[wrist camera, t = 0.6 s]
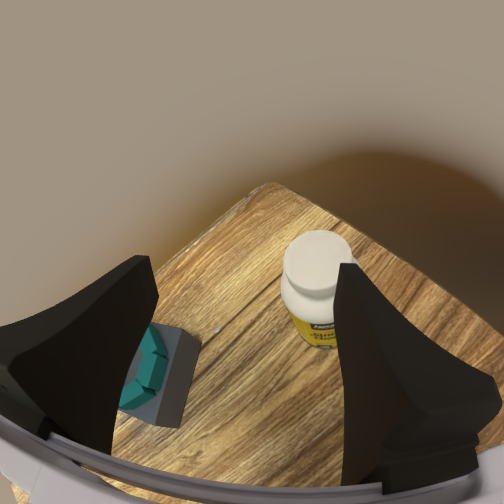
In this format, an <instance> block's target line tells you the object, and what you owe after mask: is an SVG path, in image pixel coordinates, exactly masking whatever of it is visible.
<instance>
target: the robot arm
mask: <svg viewBox="0 0 504 504" xmlns="http://www.w3.org/2000/svg"><path fill="white" fill-rule="evenodd" d="M158 299H159V294H158V290H157V286H156V283H155V279H154V275H153V271H152V267H151V263H150V259H149V256H142V255H135V256H133V257H131V258H129V259H128V260H126V261H124V262H123V263H121V264H120V265H118V266H117V267H115V268H114V269H113V270H111V271H109V272H108V273H107V274H105V275H104V276H102V277H101V278H99V279H98V280H96V281H95V282H93V283H92V284H90V285H88V286H87V287H85V288H84V289H82V290H81V291H79V292H78V293H76V294H74V295H73V296H71V297H69V298H68V299H66V300H64V301H62V302H60V303H58V304H57V305H55V306H53V307H51V308H49V309H46V310H44V311H42V312H40V313H38V314H35V315H33V316H31V317H28V318H26V319H23V320H20V321H17V322H15V323H12V324H8V325H5V326H1V327H0V473H2V474H3V475H4V476H5V477H6V478H8V479H9V480H10V481H11V482H13V483H14V484H15V485H16V486H18V487H19V488H20V489H22V490H23V491H24V492H26V493H27V494H28V495H30V496H29V498H28V500H29V502H30V504H160V503H156V502H153V501H149V500H146V499H142V498H139V497H136V496H133V495H130V494H127V493H126V492H124V491H122V490H120V489H118V488H116V487H114V486H112V485H110V484H109V483H107V482H106V481H104V480H103V479H102V478H101V477H99V476H98V475H96V474H93V473H91V472H89V471H87V470H85V469H83V468H81V467H84V468H86V469H88V470H91V471H93V472H96V473H98V474H101V475H103V476H106V477H109V478H111V479H114V480H117V481H120V482H123V483H126V484H129V485H132V486H135V487H138V488H142V489H145V490H148V491H152V492H156V493H159V494H163V495H167V496H171V497H176V498H180V499H185V500H190V501H195V502H200V503H206V504H504V443H502V444H500V445H497V446H494V447H492V448H489V449H486V450H484V451H482V452H480V453H478V454H477V455H476V450H475V447H476V446H477V445H479V439H478V435H477V434H478V433H479V432H480V431H481V430H482V429H483V428H484V427H485V426H486V425H487V424H488V423H489V422H491V421H492V420H493V419H494V417H495V416H496V415H497V414H498V413H499V411H500V409H501V407H502V398H501V396H500V393H499V390H498V388H497V385H496V383H495V380H494V378H493V377H492V376H490V375H488V374H486V373H484V372H482V371H480V370H478V369H476V368H474V367H472V366H470V365H468V364H467V363H465V362H463V361H462V360H460V359H458V358H457V357H455V356H454V355H452V354H450V353H449V352H447V351H446V350H444V349H443V348H442V347H440V346H439V345H438V344H436V343H435V342H434V341H432V340H431V339H429V338H428V337H427V336H426V335H424V334H423V333H422V332H421V331H420V330H418V329H417V328H416V327H415V326H414V325H413V324H412V323H410V322H409V321H408V320H407V319H406V318H405V317H404V316H403V315H402V314H401V313H400V312H399V311H398V310H397V309H396V308H395V307H394V306H393V305H392V304H391V303H390V302H389V301H388V300H387V298H386V297H385V296H384V295H383V294H382V293H381V292H380V291H379V289H378V288H377V287H376V286H375V285H374V284H373V282H372V281H371V280H370V279H369V278H368V276H367V275H366V274H365V273H364V272H363V270H362V269H361V268H360V267H359V266H358V265H357V263H340V267H339V273H338V279H337V285H336V291H335V297H334V302H333V318H334V331H335V336H336V342H337V348H338V354H339V359H340V365H341V371H342V378H343V387H344V452H343V466H342V478H341V486H336V487H309V488H293V487H266V486H252V485H242V484H233V483H225V482H217V481H211V480H204V479H199V478H193V477H188V476H183V475H178V474H174V473H169V472H165V471H161V470H157V469H153V468H149V467H145V466H142V465H138V464H135V463H132V462H128V461H125V460H122V459H119V458H116V457H113V456H111V449H112V441H113V433H114V426H115V421H116V416H117V411H118V406H119V402H120V398H121V394H122V390H123V387H124V383H125V380H126V377H127V374H128V370H129V368H130V365H131V363H132V360H133V358H134V356H135V354H136V352H137V350H138V347H139V345H140V343H141V341H142V339H143V337H144V335H145V333H146V331H147V328H148V326H149V324H150V322H151V320H152V318H153V315H154V312H155V309H156V305H157V302H158ZM80 466H81V467H80Z"/></svg>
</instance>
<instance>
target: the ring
mask: <svg viewBox="0 0 504 504" xmlns="http://www.w3.org/2000/svg"><path fill="white" fill-rule="evenodd" d="M140 347H141V350H142V352H143V357H142V360H141V363H140V366H139V370H138V373H137V376H136V379H135V380H134V381H132V382H131V383H129V384H128V385H126V386H124V387H123V390H122V394H121V398H120V402H119V406H118V408H120V409H124V410H129V409H130V410H134V409H136V408H137V407H139V406H141V405H142V404H144V403H146V402H147V401H149V400H151V399H152V398H154V397H156V394H155V392H154V390H157V391H160V389H161V385H162V382H163V378H164V375H165V371H166V368H167V365H168V361H169V360H167V359H165V358H164V357H166V356H167V355H168V353H167V351H166V349H165V346H164V344H163V342H162V340H161V338H160V335H159V333H158V331H157V329H155V328H154V327H153V326H152V325H150V324H149V326H148V328H147V331H146V333H145V335H144V337H143V339H142V341H141V343H140Z"/></svg>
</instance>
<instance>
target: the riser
mask: <svg viewBox="0 0 504 504" xmlns="http://www.w3.org/2000/svg"><path fill="white" fill-rule="evenodd" d="M150 325H152V326H153V327H154V328H155V329H157V331H158V333H159V335H160V338H161V340H162V342H163V344H164V346H165V349H166V351H167V353H168V355H167V356H166V357H164V358H165V359H167V360H169V361H168V365H167V368H166V371H165V375H164V378H163V382H162V385H161V389H160V391H157V390H154V392H155V394H156V397H154V398H152V399H151V400H149V401H147V402H146V403H144V404H142V405H141V406H139V407H137V408H136V409H134V410H130V409H129V410H124V409H120V408H118V410H120V411H122V412H124V413H126V414H128V415H131V416H133V417H135V418H137V419H140V420H142V421H144V422H147V423H149V424H152V425H154V426H161V427H169V428H179V425H180V422H181V418H182V414H183V410H184V406H185V403H186V399H187V395H188V392H189V388H190V384H191V381H192V377H193V373H194V370H195V366H196V362H197V359H198V355H199V352H200V348H201V344H202V342H201V341H199V340H198V339H196V338H195V337H193V336H192V335H191V334H189V333H188V332H186V331H185V330H184V329H182V328H177V327H172V326H166V325H161V324H156V323H151V322H150ZM142 357H143V352H142V350H141V347H140V345H139V347H138V350H137V352H136V354H135V356H134V358H133V360H132V363H131V365H130V368H129V370H128V374H127V377H126V380H125V383H124V386H126V385H128V384H129V383H131V382H132V381H134V380H135V379H136V376H137V373H138V370H139V366H140V363H141V360H142Z"/></svg>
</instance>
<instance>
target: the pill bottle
mask: <svg viewBox="0 0 504 504" xmlns="http://www.w3.org/2000/svg"><path fill="white" fill-rule="evenodd" d="M340 263H357V265H358V266H359V267H360V265H359V263H358V261H357V260H356V259H355V258H354V257H353V256H352V252H351V249H350V246H349V245H348V243H347V242H346V241H345V239H343V238H342V237H341V236H340V235H338V234H336V233H334V232H331V231H327V230H314V231H309V232H306V233H304V234H302V235H300V236H298V237H297V238H296V239H294V240H293V241H292V242H291V243H290V245H289V246H288V248H287V249H286V252H285V255H284V260H283V266H284V271H283V274H282V277H281V283H280V289H281V295H282V298H283V301H284V303H285V305H286V307H287V309H288V311H289V313H290V315H291V318H292V320H293V322H294V324H295V326H296V328H297V330H298V332H299V334H300V335H301V337H302V338H303V339H304V340H305V341H306V342H307V343H308V344H310V345H312V346H314V347H316V348H320V349H334V348H337V342H336V336H335V331H334V318H333V302H334V297H335V291H336V285H337V279H338V273H339V267H340ZM360 268H361V267H360Z"/></svg>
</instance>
